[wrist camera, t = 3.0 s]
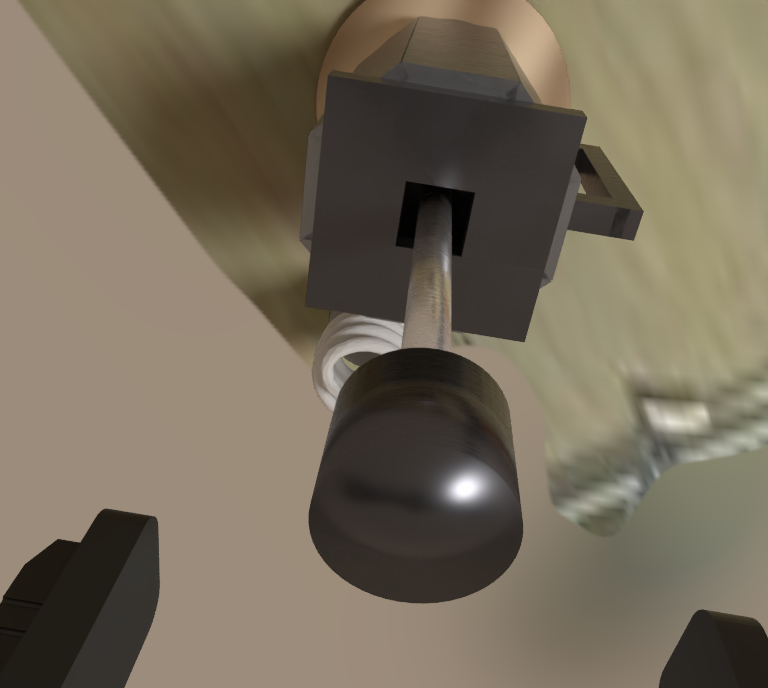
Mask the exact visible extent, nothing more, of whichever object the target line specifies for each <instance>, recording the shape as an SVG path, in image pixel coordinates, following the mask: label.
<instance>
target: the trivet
mask: <svg viewBox="0 0 768 688" xmlns="http://www.w3.org/2000/svg"><path fill="white" fill-rule="evenodd" d="M418 16H419V17H420V16H426V17H432V18H438V19H455V20H461V21H465V22H469V23H472V24H474V25H480V26H486V27H492V28H496V29H497V30H498V31H499V33H500V34H501V36H502V38H503V39H504V41H505V42H506V44H507V46H508V47H509V49H510V51H511V52H512V54H513V55H514V57H515V58H516V60H517V62H518V63H519V65H520V67H521V68H522V70H523V71H524V73H525V75H526V76H527V78H528V80H529V81H530V83H531V84H532V86H533V88H534V89H535V91H536V92H537V94H538V96H539V98H540V100H541V102H542V104H543V105H550V106H556V107H562V108H568V109H570V101H571V98H570V82H569V77H568V71H567V66H566V63H565V60H564V57H563V54H562V51H561V48H560V46H559V44H558V42H557V40H556V38H555V36H554V34H553V32H552V31H551V29H550V28H549V26H548V25H547V23H546V22H545V20H544V19H543V18H542V16H541V15H540V14H539V13H538V12H537V11H536V10H535V9H534V8H533V7H532V6H531V5H530V4H529V3H528V2H527V1H526V0H365V1H364V2H363V3H362V4H361V5H360V6H359V7H358V8H357V9H356V10H355V11H354V12H353V13H352V14H351V15H350V16H349V17H348V19H347V20H346V21H345V22H344V24H343V25H342V26H341V27H340V29H339V31H338V32H337V34H336V36H335V37H334V39H333V41H332V42H331V44H330V47H329V49H328V51H327V53H326V56H325V58H324V61H323V64H322V68H321V71H320V75H319V81H318V87H317V96H316V113H317V122H318V120H319V119H320V118H321V116H322V115H323V113H324V109H325V98H326V88H327V78H328V74H329V73H330V72H331V71H332V70H337V71H343V72H349V73H353V71H354V70H355V69H356V67H357V66H358V64H359V63H361V62H362V61H363V60H364V59H366V58H367V57H368V56H369V55H371V54H372V53H373V52H374V51H376V50H377V49H378V48H379V47H380V46H381V45H383V44H384V43H385V42H386V41H387V40H388V39H389V38H390V37H392V36H393V35H395V34H396V33H398V32H399V31H401V30H402V29H403V28H404V27H406V26H407V25H408V24H409V23H411V22H412V21H413V20H414V19H416V18H417V17H418Z"/></svg>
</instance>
